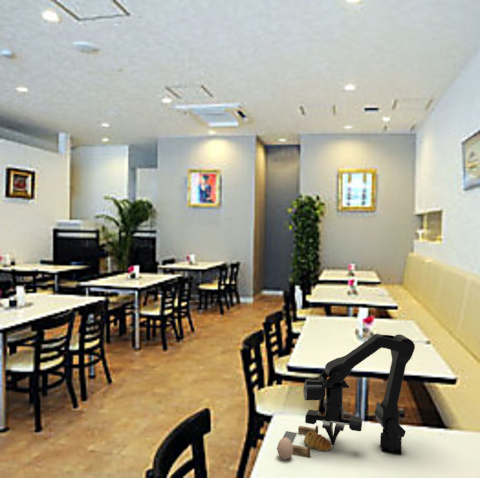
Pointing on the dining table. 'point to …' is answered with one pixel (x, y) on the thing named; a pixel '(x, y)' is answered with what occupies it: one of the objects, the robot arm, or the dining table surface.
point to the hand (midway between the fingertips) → (333, 444)
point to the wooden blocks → (304, 450)
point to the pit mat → (290, 435)
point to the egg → (285, 448)
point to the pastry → (317, 441)
